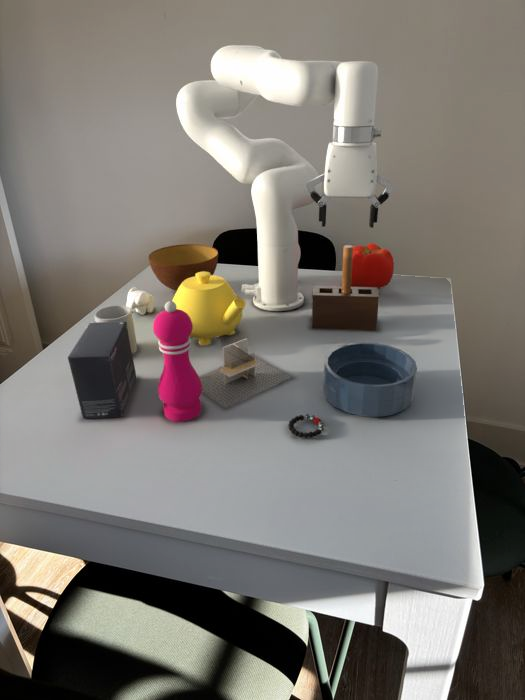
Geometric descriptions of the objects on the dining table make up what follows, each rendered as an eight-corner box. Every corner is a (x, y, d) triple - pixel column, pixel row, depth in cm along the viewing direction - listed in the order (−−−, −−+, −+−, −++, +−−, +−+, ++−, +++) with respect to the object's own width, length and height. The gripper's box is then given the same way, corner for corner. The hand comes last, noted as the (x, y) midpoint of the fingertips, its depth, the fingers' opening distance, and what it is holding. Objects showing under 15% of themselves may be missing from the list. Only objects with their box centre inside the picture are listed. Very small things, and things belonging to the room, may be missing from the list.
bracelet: (331, 431, 82) (331, 426, 81) (301, 444, 79) (301, 438, 79) (310, 414, 86) (310, 409, 86) (281, 425, 83) (281, 420, 83)
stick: (339, 326, 116) (343, 247, 108) (339, 322, 118) (343, 245, 109) (348, 326, 116) (353, 247, 107) (348, 323, 117) (353, 245, 109)
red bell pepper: (382, 299, 129) (386, 258, 124) (333, 291, 135) (334, 251, 130) (398, 282, 139) (402, 244, 134) (352, 275, 145) (354, 238, 140)
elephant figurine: (121, 313, 126) (117, 289, 123) (150, 304, 130) (147, 281, 127) (134, 321, 121) (130, 297, 118) (164, 312, 126) (161, 288, 123)
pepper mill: (163, 401, 91) (148, 294, 82) (204, 398, 91) (194, 291, 82) (159, 425, 85) (142, 312, 75) (203, 422, 85) (193, 309, 76)
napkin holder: (260, 379, 96) (259, 344, 93) (230, 393, 93) (228, 356, 89) (249, 372, 99) (247, 337, 95) (219, 385, 95) (216, 349, 92)
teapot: (271, 338, 112) (270, 277, 105) (214, 363, 102) (209, 298, 96) (213, 312, 125) (209, 256, 118) (158, 332, 115) (150, 273, 109)
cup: (142, 353, 107) (136, 313, 103) (94, 367, 102) (86, 326, 98) (129, 340, 112) (123, 302, 108) (83, 353, 107) (75, 314, 103)
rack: (376, 331, 114) (379, 296, 110) (311, 328, 115) (312, 295, 112) (374, 320, 118) (377, 287, 115) (313, 318, 120) (313, 285, 116)
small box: (100, 379, 98) (89, 321, 93) (137, 377, 98) (127, 319, 93) (80, 419, 87) (66, 356, 81) (122, 418, 87) (110, 354, 81)
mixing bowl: (322, 417, 85) (323, 384, 82) (324, 371, 99) (325, 340, 96) (417, 423, 83) (422, 388, 80) (407, 375, 97) (410, 344, 94)
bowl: (139, 294, 136) (133, 257, 131) (184, 275, 149) (181, 240, 144) (189, 308, 127) (185, 269, 122) (233, 286, 140) (231, 250, 135)
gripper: (397, 133, 101) (388, 221, 109) (308, 133, 103) (306, 220, 111) (401, 138, 94) (391, 231, 102) (306, 138, 96) (303, 229, 105)
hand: (347, 225), depth 107 cm, fingers open, 9 cm apart
